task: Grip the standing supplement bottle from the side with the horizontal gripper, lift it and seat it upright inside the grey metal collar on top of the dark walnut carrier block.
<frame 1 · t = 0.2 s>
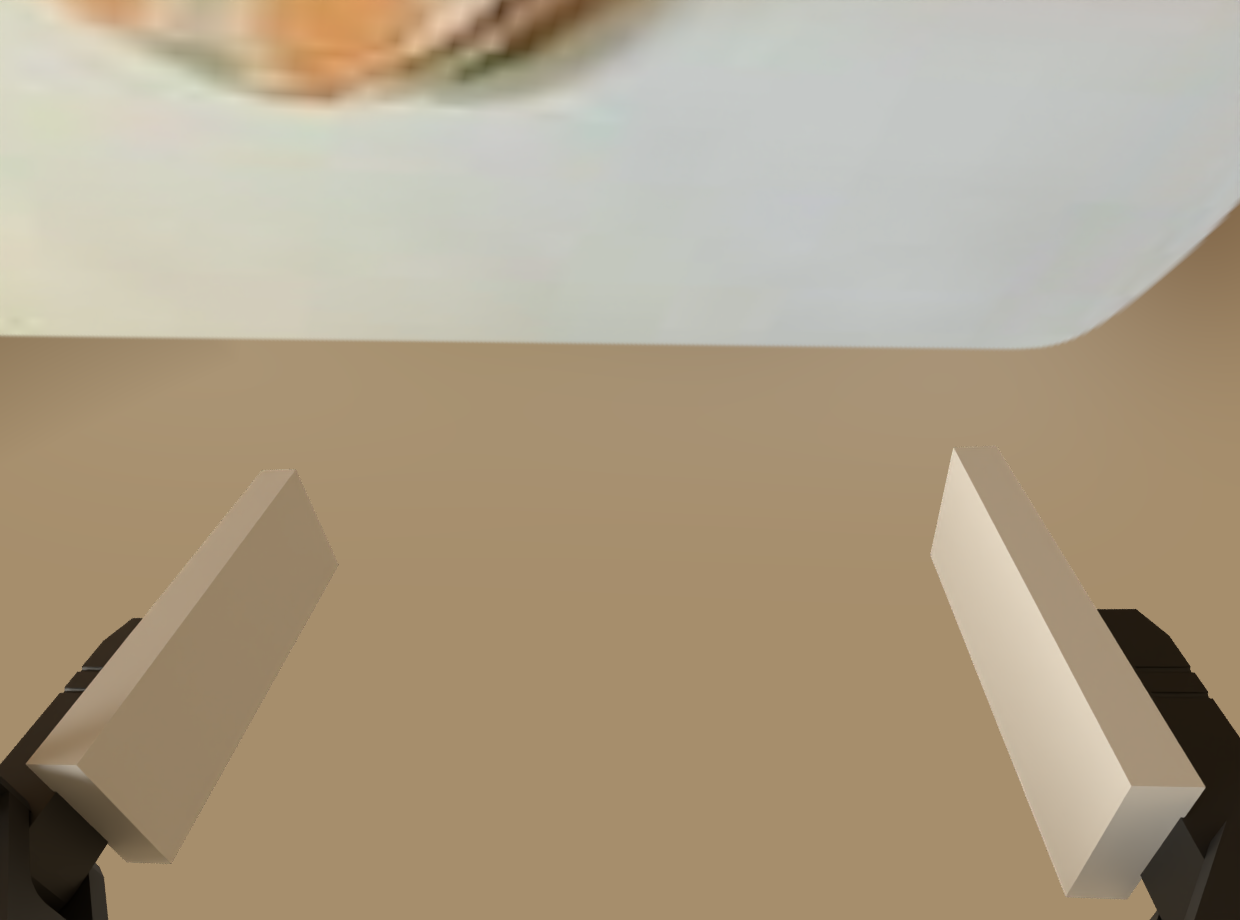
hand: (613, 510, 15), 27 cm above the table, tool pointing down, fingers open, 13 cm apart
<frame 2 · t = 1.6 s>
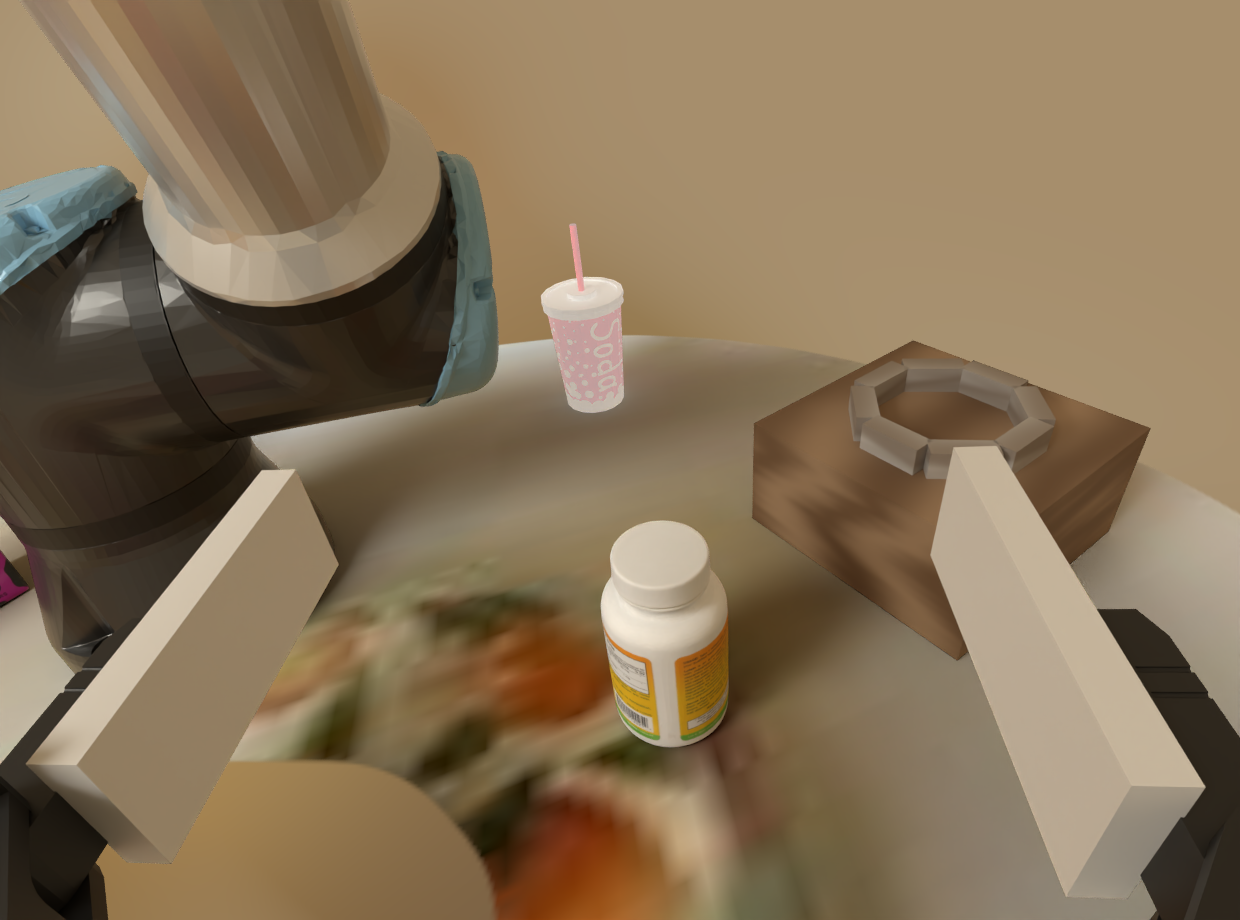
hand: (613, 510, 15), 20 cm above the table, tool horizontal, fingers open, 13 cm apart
beverage cup: (596, 399, 58), on the table
carrier block: (922, 524, 42), on the table
supplement bottle: (672, 702, 34), on the table
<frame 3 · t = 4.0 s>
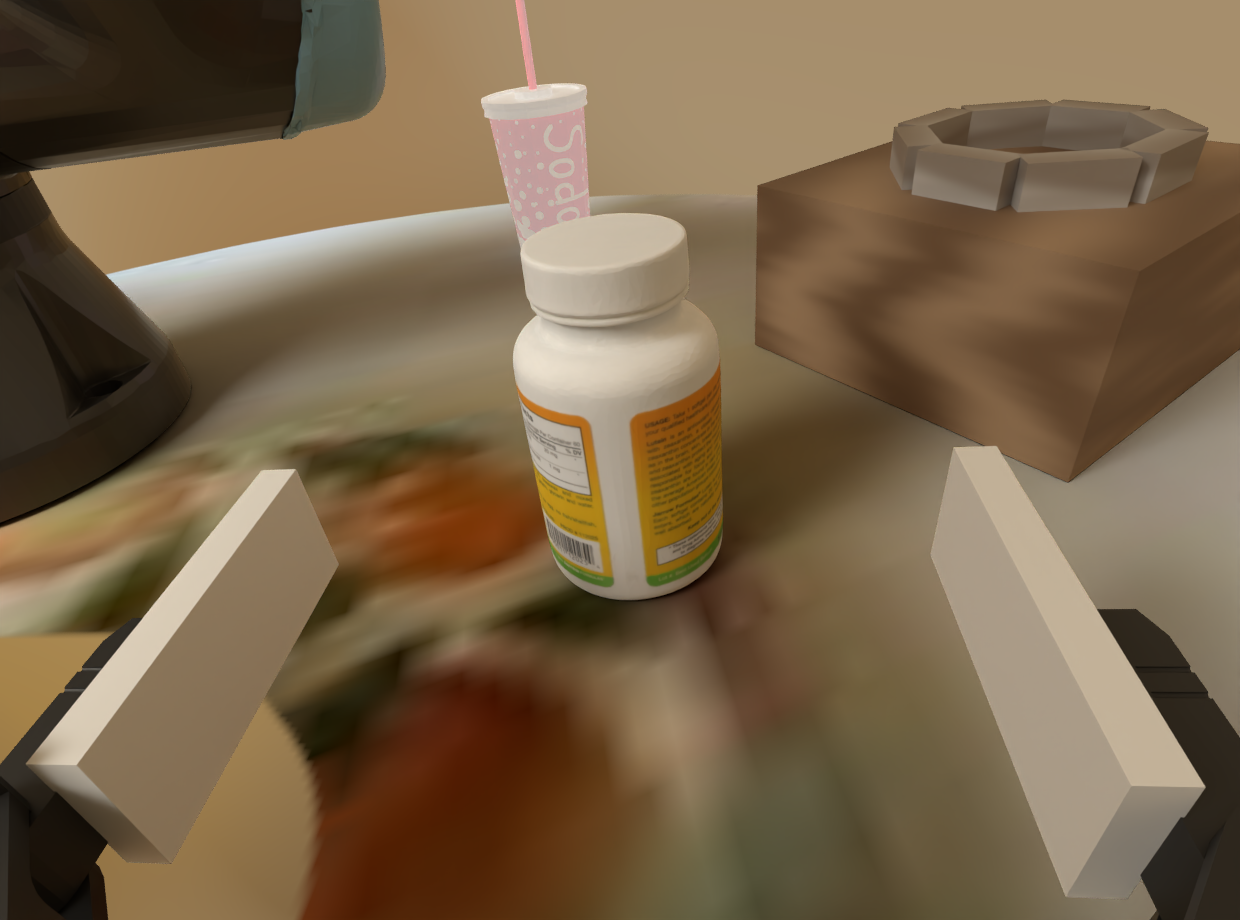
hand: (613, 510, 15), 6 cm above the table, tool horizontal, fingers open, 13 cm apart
beverage cup: (557, 250, 46), on the table
carrier block: (989, 341, 31), on the table
supplement bottle: (637, 547, 23), on the table
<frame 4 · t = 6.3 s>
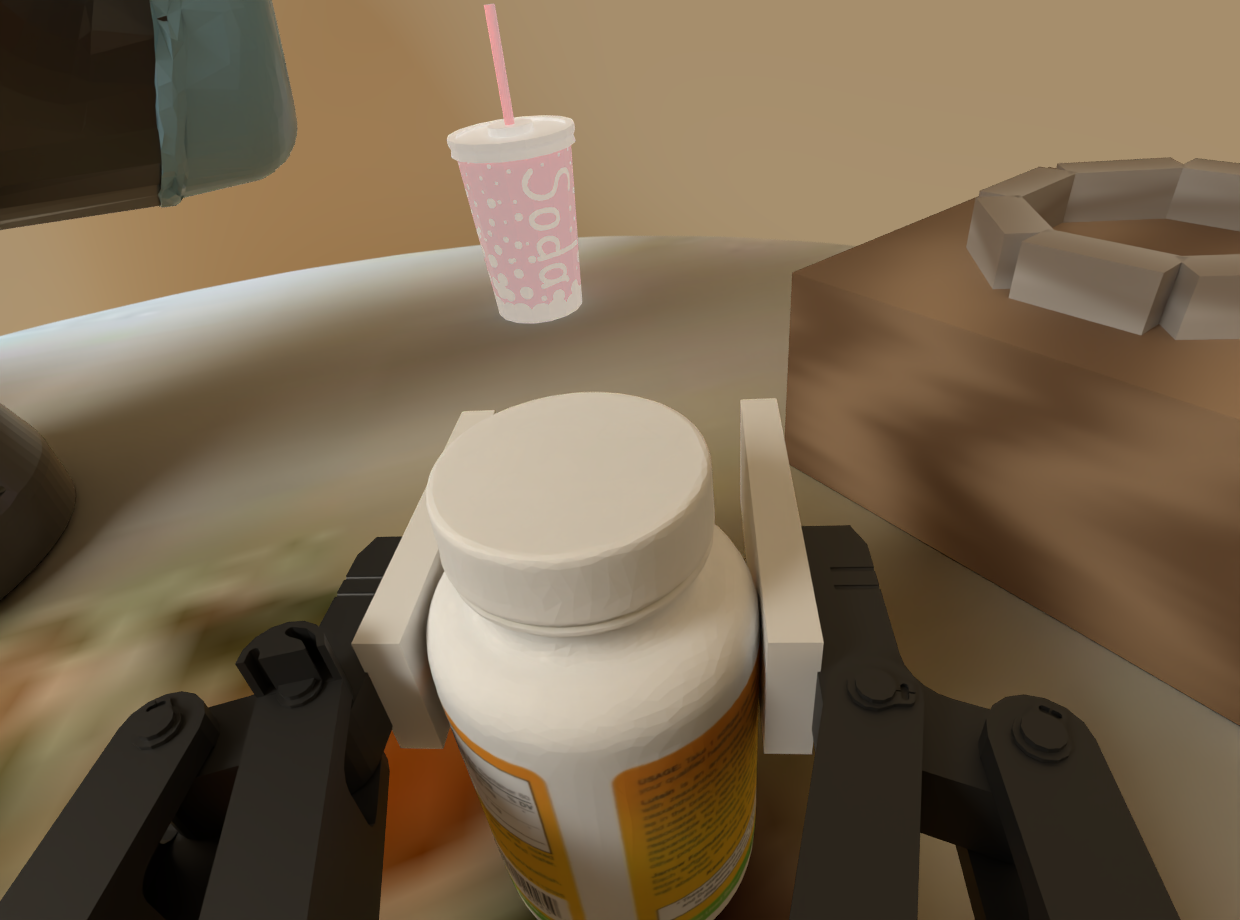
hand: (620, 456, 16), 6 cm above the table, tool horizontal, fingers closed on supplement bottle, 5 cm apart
beverage cup: (541, 308, 39), on the table
carrier block: (1089, 466, 24), on the table
supplement bottle: (629, 826, 16), on the table, touching gripper
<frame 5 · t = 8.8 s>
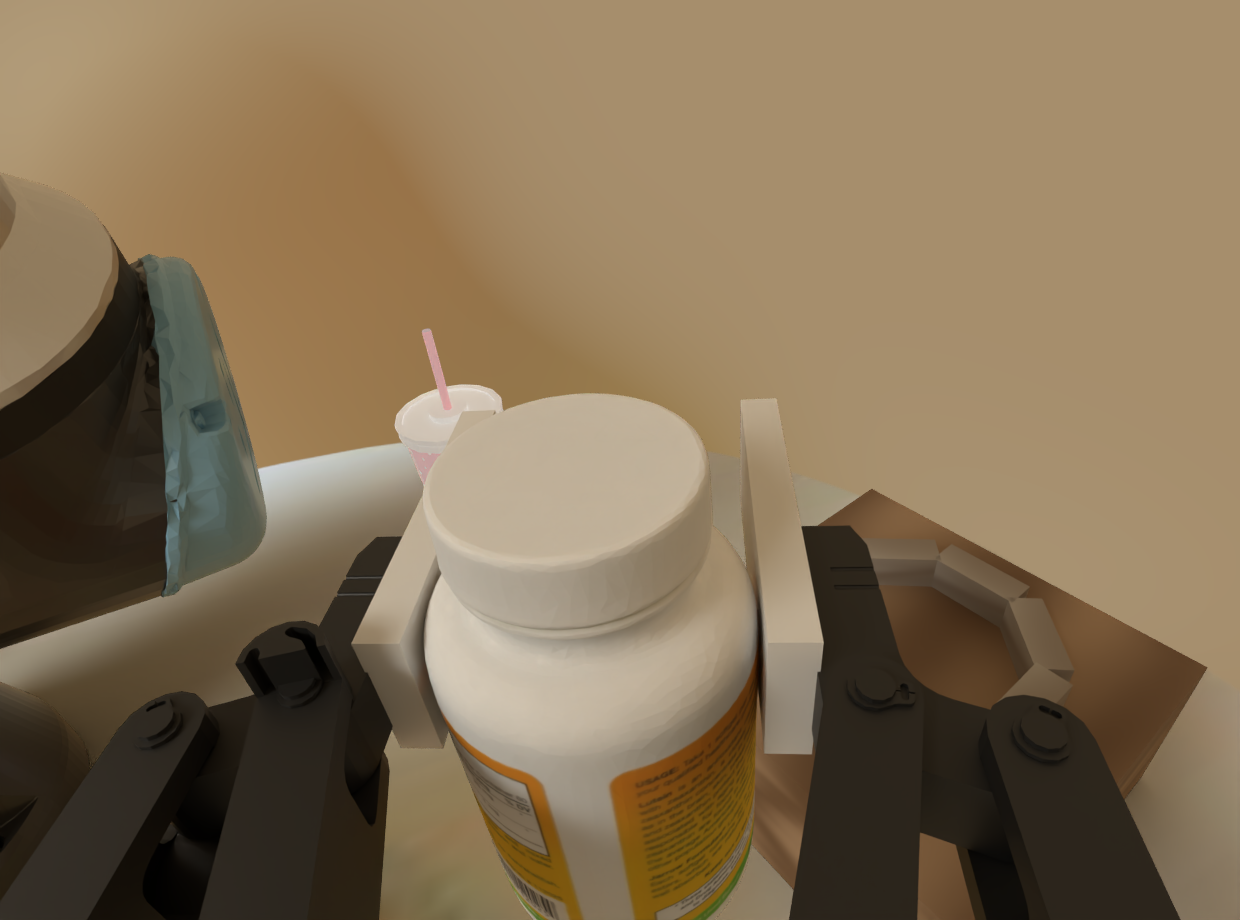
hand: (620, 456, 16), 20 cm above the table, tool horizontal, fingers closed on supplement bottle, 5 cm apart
beverage cup: (482, 532, 46), on the table
carrier block: (886, 759, 31), on the table
supplement bottle: (628, 828, 16), point 14 cm above the table, touching gripper
when the fingers open (14 cm above the table, at t = 11.3 s): supplement bottle stays where it is, resting on carrier block.
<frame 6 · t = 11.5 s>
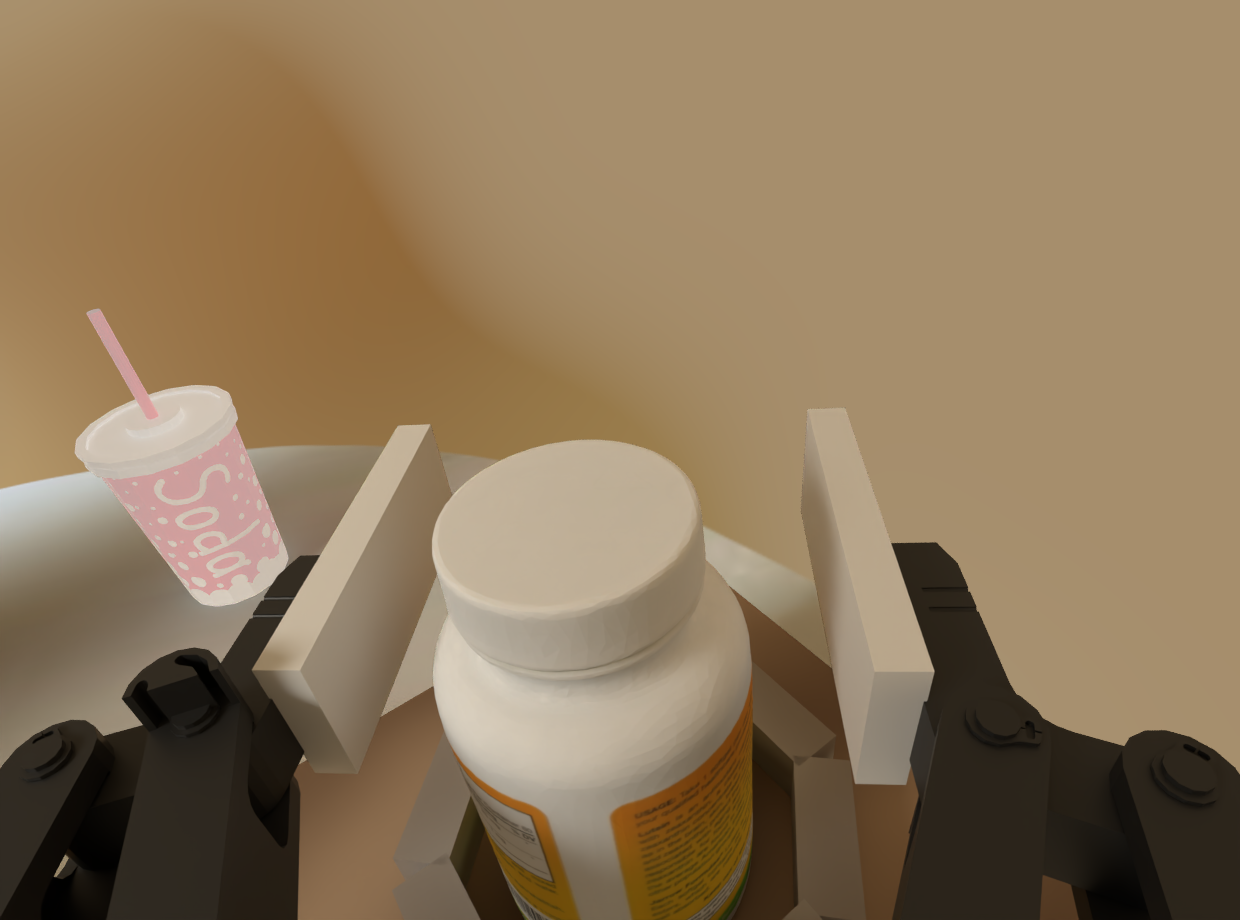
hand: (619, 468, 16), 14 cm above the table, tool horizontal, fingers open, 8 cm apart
beverage cup: (242, 574, 36), on the table
supplement bottle: (631, 850, 16), point 7 cm above the table, touching carrier block
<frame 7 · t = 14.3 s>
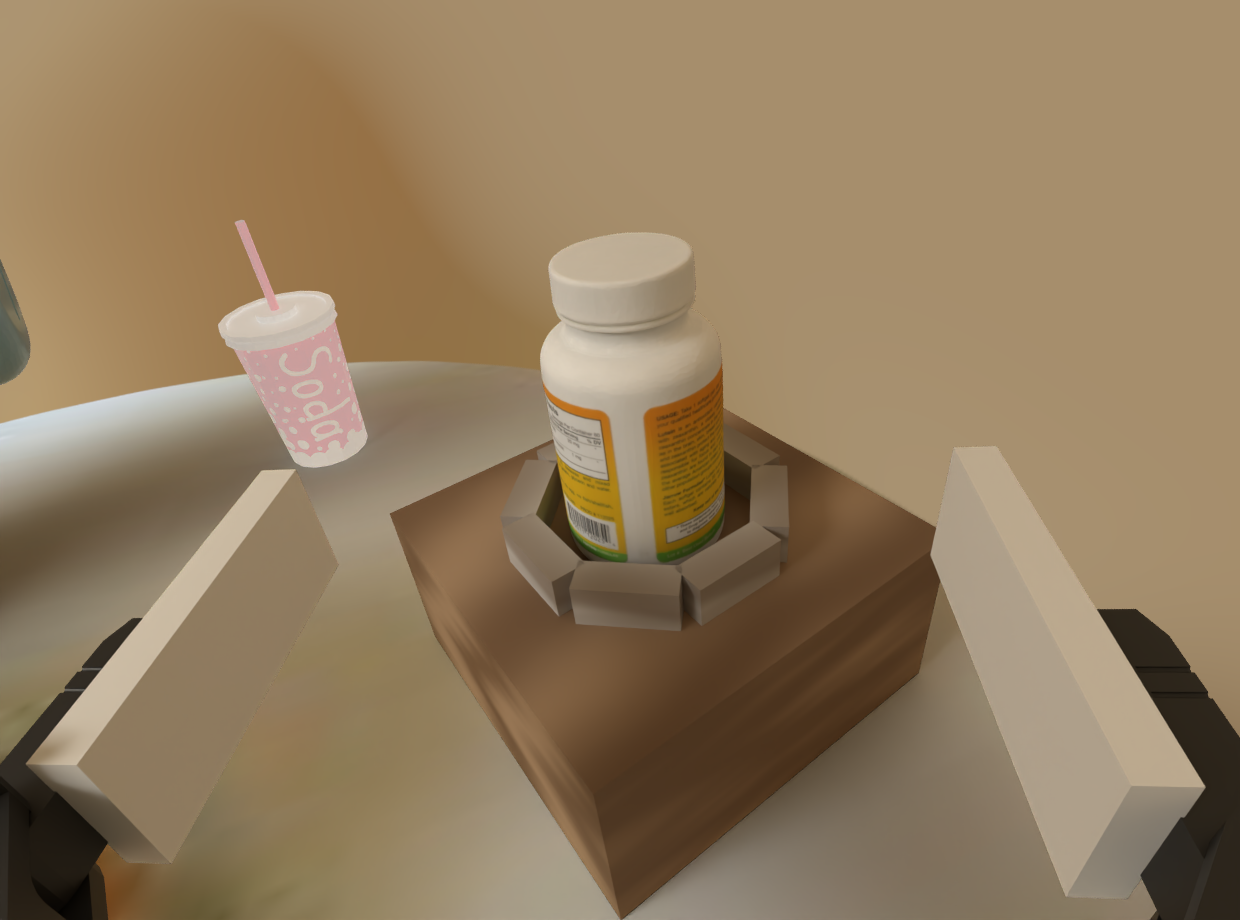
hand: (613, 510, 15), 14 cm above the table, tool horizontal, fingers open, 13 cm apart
beverage cup: (331, 448, 45), on the table
carrier block: (661, 653, 29), on the table
supplement bottle: (647, 529, 25), point 7 cm above the table, touching carrier block
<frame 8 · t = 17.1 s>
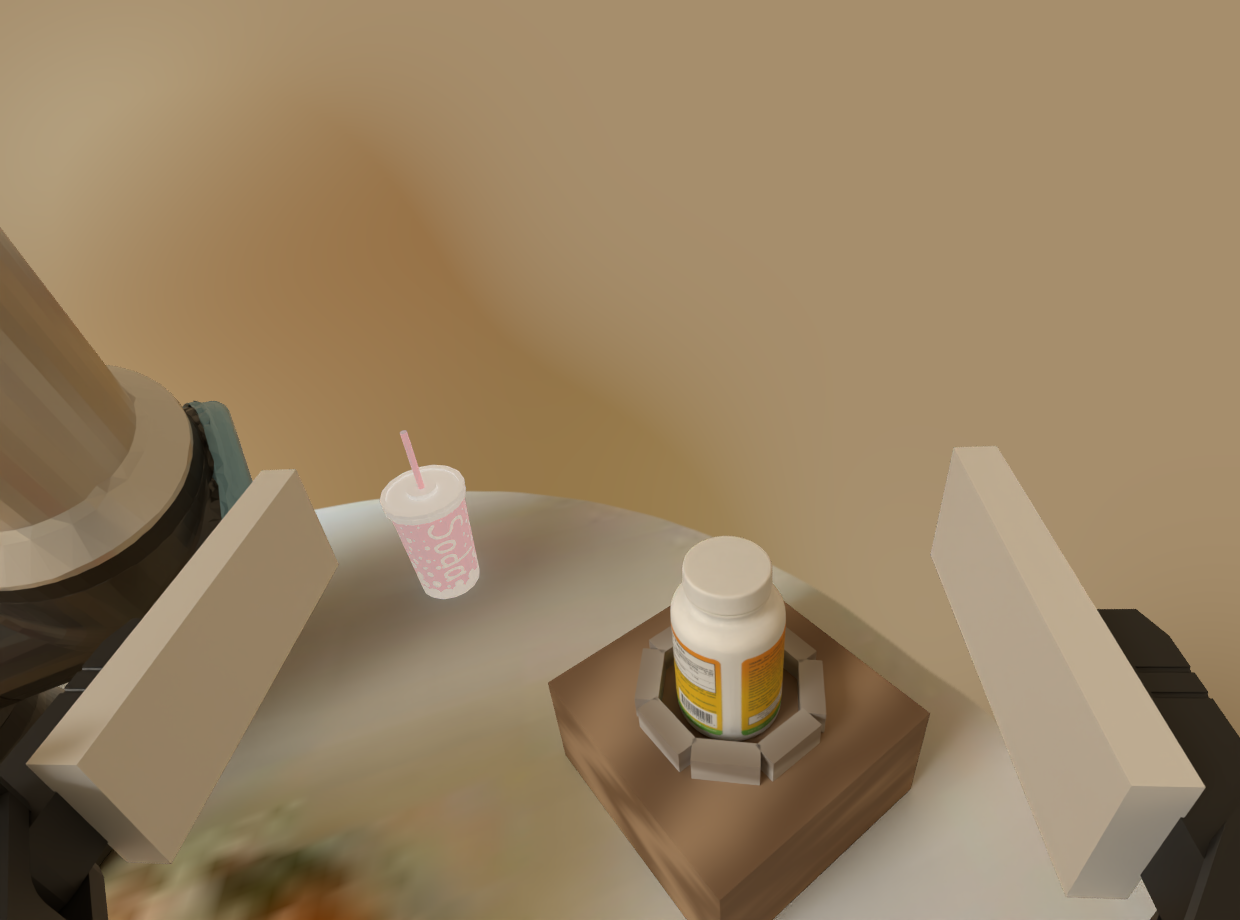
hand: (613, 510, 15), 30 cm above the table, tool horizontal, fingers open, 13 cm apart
beverage cup: (451, 579, 57), on the table
carrier block: (730, 771, 41), on the table
supplement bottle: (728, 700, 37), point 7 cm above the table, touching carrier block
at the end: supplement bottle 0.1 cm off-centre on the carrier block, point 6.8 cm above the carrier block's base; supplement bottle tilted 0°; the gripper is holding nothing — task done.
